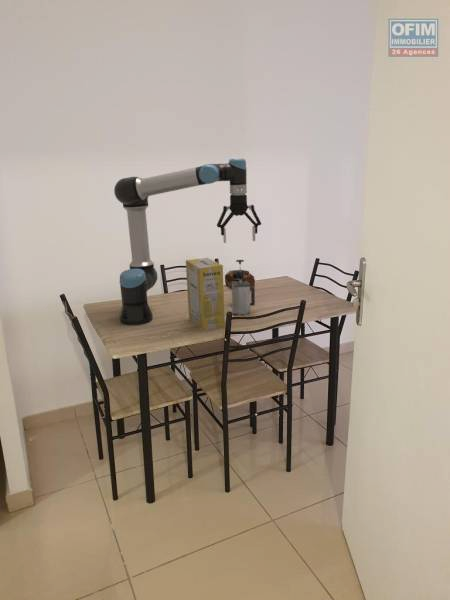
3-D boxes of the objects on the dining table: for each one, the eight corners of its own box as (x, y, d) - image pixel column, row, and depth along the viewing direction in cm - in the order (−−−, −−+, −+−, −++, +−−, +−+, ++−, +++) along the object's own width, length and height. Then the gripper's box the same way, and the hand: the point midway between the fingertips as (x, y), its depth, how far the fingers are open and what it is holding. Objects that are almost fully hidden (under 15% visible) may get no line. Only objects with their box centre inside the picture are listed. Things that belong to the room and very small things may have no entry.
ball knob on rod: (237, 301, 221) (236, 270, 216) (236, 298, 224) (235, 269, 220) (245, 300, 221) (245, 270, 217) (244, 298, 225) (243, 268, 220)
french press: (254, 305, 235) (253, 261, 228) (237, 308, 231) (236, 263, 225) (243, 299, 245) (242, 256, 238) (227, 302, 242) (226, 258, 235)
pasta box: (189, 318, 219) (185, 260, 211) (209, 315, 223) (207, 257, 215) (202, 330, 203) (199, 268, 195) (224, 326, 207) (222, 265, 199)
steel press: (234, 316, 220) (233, 285, 216) (231, 310, 228) (230, 281, 224) (256, 314, 221) (255, 284, 217) (252, 309, 229) (252, 279, 225)
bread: (255, 290, 262) (255, 273, 259) (238, 293, 257) (238, 275, 255) (240, 283, 278) (240, 267, 275) (224, 285, 274) (223, 269, 271)
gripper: (211, 196, 203) (213, 244, 209) (267, 193, 206) (267, 241, 212) (209, 195, 210) (211, 241, 217) (263, 192, 213) (264, 238, 220)
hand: (239, 241), depth 214 cm, fingers open, 13 cm apart
